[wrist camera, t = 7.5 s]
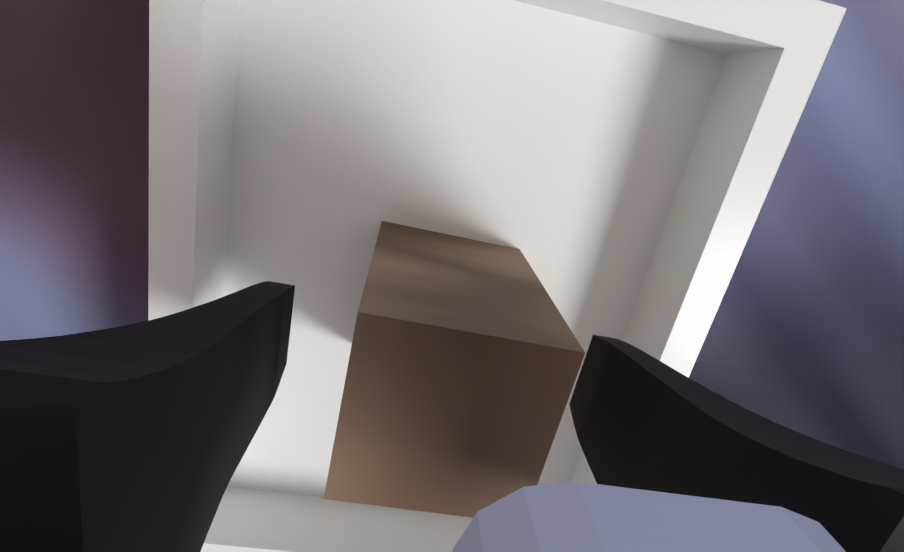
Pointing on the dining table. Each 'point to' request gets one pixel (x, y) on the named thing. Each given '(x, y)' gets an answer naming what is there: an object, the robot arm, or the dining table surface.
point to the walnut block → (449, 377)
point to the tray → (457, 188)
